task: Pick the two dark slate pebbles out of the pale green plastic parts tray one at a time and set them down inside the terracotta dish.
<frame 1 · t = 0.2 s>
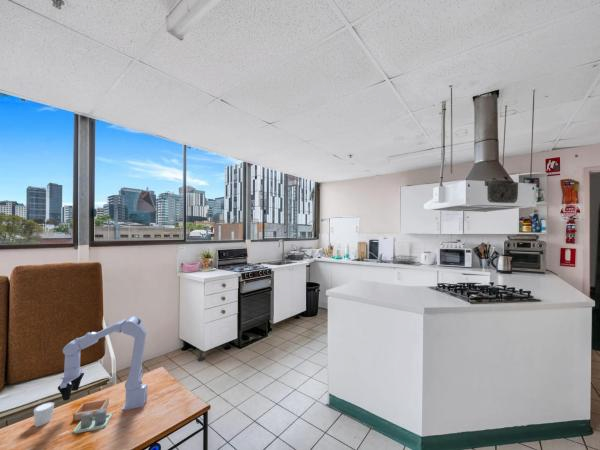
hand: (70, 394, 122), 10 cm above the table, fingers open, 7 cm apart
parts tray: (93, 424, 116), on the table
dish: (91, 413, 124), on the table
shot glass: (43, 422, 118), on the table
pebble b: (86, 425, 115), resting on parts tray
pebble a: (100, 422, 117), resting on parts tray
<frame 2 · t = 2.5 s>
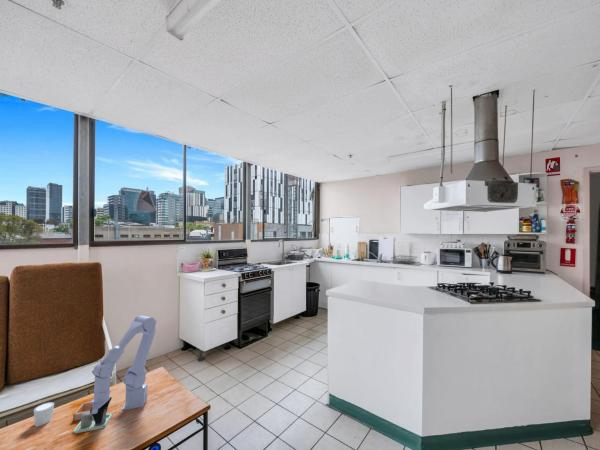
hand: (100, 419, 117), 2 cm above the table, fingers closed on pebble a, 4 cm apart
pebble a: (100, 422, 117), resting on parts tray, touching gripper
everything else where it was.
when the fingers open (4 cm above the table, at t = 5.2 s): pebble a drops 2 cm, resting on dish.
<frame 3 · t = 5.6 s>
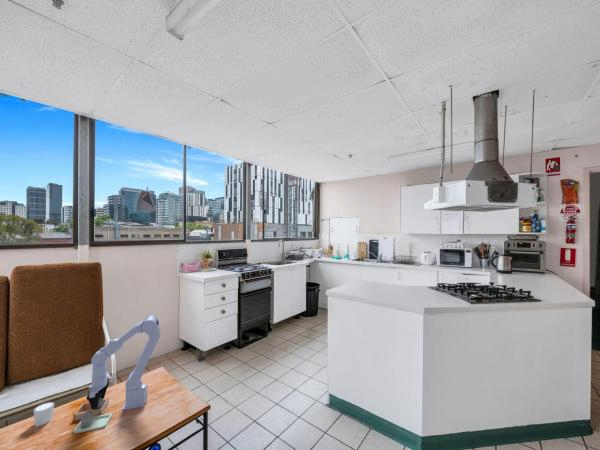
hand: (97, 403, 125), 4 cm above the table, fingers open, 7 cm apart
pebble a: (97, 410, 125), resting on dish
everything else where it was.
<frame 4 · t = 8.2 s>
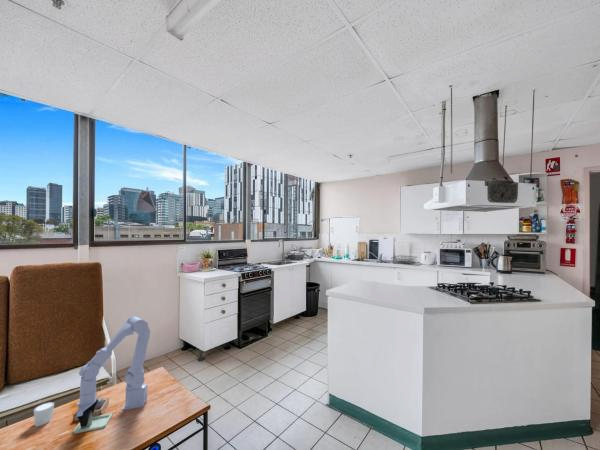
hand: (86, 422, 115), 2 cm above the table, fingers closed on pebble b, 4 cm apart
pebble b: (86, 425, 115), resting on parts tray, touching gripper
everything else where it was.
when the fingers open (4 cm above the table, at t = 10.9 s): pebble b drops 2 cm, resting on dish.
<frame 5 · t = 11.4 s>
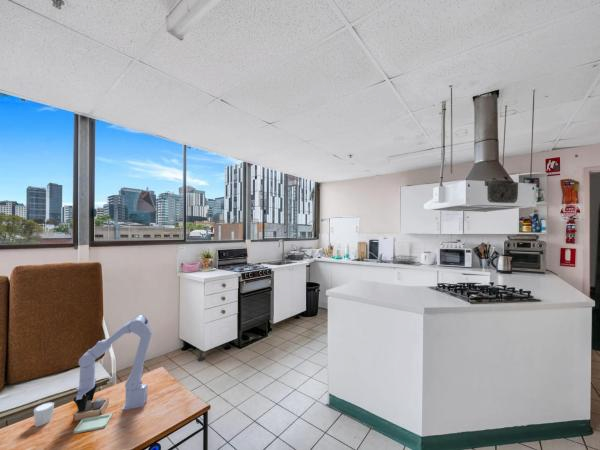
hand: (85, 405, 123), 4 cm above the table, fingers open, 7 cm apart
pebble b: (85, 413, 123), point 1 cm above the table, touching dish
everything else where it was.
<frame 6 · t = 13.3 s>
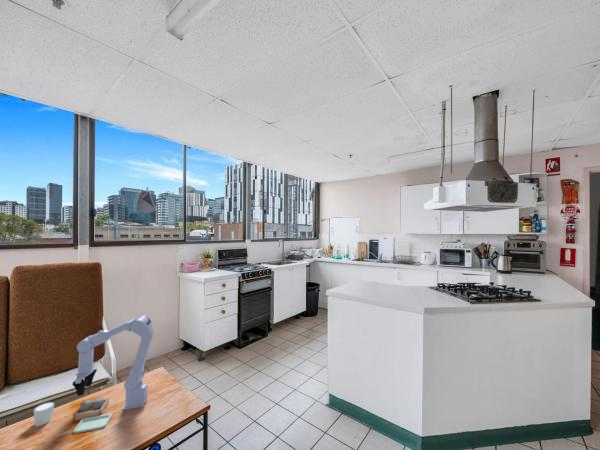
hand: (84, 390, 126), 10 cm above the table, fingers open, 7 cm apart
nothing on the table moved.
at the end: pebble a inside the target area on the dish (2.6 cm from its centre), point 0.5 cm above the dish's base; pebble b inside the target area on the dish (2.5 cm from its centre), point 0.5 cm above the dish's base; the gripper is holding nothing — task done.
